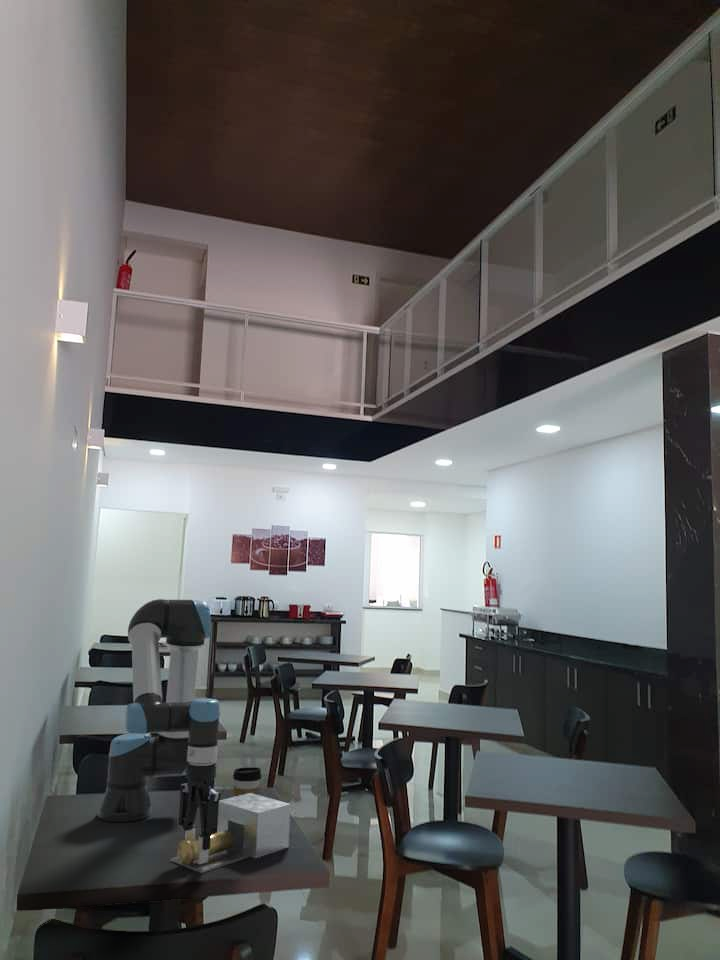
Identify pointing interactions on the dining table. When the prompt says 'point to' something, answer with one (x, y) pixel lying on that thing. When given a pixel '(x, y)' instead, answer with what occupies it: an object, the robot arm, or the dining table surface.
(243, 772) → the coffee cup
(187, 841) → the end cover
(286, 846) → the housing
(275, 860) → the dining table surface
